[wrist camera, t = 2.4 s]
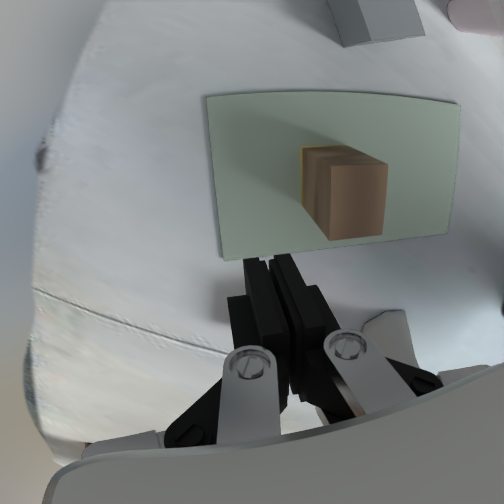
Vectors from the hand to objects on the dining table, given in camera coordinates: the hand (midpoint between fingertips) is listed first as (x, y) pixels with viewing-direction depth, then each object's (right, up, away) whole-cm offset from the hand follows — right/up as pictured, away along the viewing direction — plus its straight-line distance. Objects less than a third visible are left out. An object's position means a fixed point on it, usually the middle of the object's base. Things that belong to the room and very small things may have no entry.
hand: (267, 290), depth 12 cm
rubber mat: (+8, +8, +15) cm, 19 cm away
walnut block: (+5, +8, +14) cm, 17 cm away
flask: (+16, -8, +25) cm, 30 cm away
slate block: (+8, +21, +8) cm, 24 cm away
